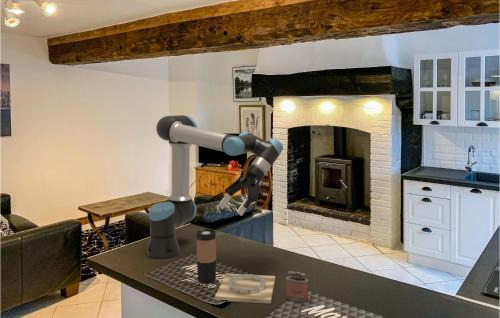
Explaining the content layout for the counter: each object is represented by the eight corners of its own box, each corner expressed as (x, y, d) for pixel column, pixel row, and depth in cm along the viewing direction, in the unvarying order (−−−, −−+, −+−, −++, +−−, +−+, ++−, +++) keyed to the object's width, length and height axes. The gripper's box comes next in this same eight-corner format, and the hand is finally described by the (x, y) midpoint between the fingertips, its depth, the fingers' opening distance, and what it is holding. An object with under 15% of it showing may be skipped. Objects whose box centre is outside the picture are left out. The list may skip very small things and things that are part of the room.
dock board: (226, 277, 163) (226, 273, 163) (275, 279, 160) (275, 276, 160) (215, 300, 143) (214, 296, 143) (270, 303, 141) (270, 299, 140)
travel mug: (213, 285, 156) (212, 235, 153) (194, 283, 157) (193, 234, 155) (218, 277, 163) (218, 229, 161) (200, 275, 165) (199, 228, 162)
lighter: (309, 298, 145) (309, 271, 143) (307, 302, 141) (307, 275, 140) (287, 295, 147) (287, 269, 146) (284, 299, 144) (285, 272, 143)
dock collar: (232, 276, 160) (231, 273, 159) (267, 278, 158) (267, 275, 157) (224, 292, 146) (224, 289, 146) (263, 295, 144) (263, 291, 144)
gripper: (282, 179, 162) (253, 222, 155) (245, 172, 182) (218, 210, 175) (272, 167, 158) (241, 210, 151) (235, 161, 178) (207, 199, 171)
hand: (229, 210), depth 163 cm, fingers open, 13 cm apart
